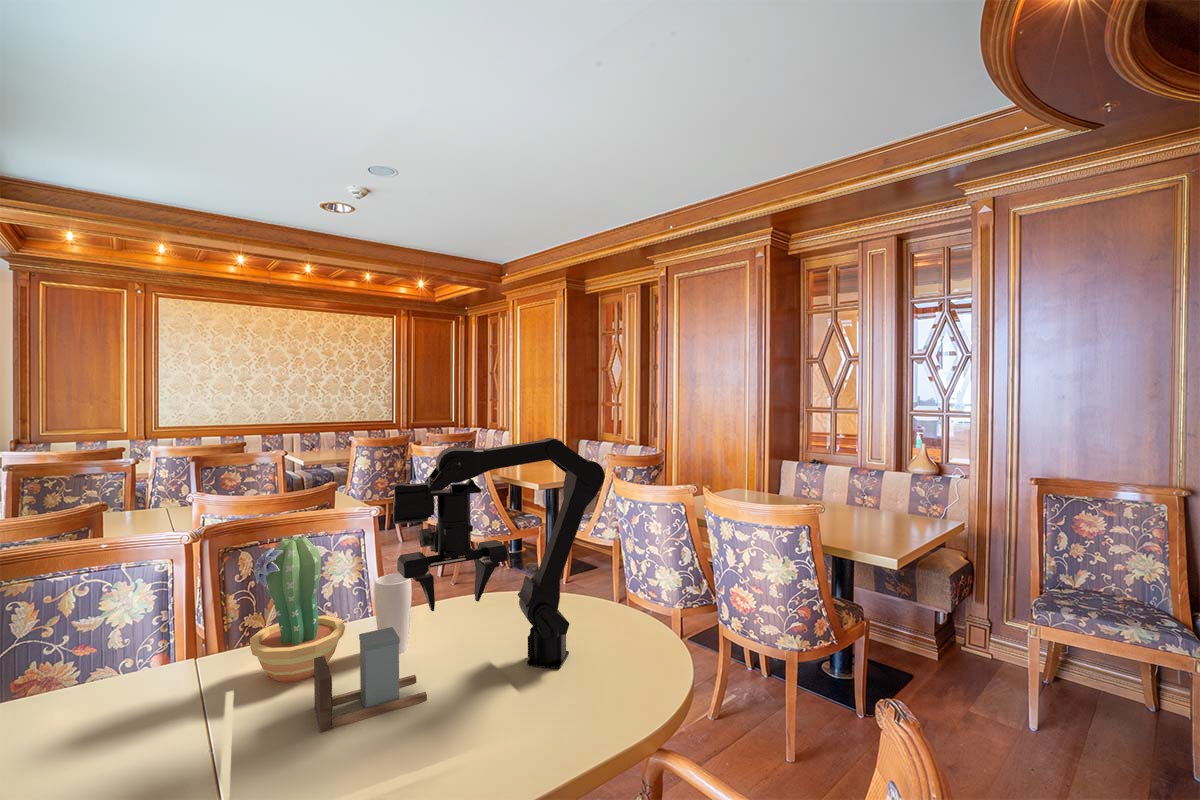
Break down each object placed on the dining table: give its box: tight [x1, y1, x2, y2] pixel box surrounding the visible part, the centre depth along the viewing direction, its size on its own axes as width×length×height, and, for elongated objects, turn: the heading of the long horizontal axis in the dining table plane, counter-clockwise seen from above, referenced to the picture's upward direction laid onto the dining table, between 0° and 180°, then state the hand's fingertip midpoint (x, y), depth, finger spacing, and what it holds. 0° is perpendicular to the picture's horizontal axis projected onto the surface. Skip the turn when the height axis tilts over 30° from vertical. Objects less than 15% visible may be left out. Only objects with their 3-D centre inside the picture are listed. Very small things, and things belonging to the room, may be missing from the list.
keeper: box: [358, 627, 400, 709], centre depth 91 cm, size 5×5×11 cm
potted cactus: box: [249, 535, 346, 683], centre depth 101 cm, size 15×15×25 cm
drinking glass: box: [374, 573, 413, 655], centre depth 109 cm, size 7×7×15 cm
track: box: [313, 656, 428, 734], centre depth 90 cm, size 16×8×9 cm, turn 122°
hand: (455, 605), depth 100 cm, fingers open, 8 cm apart
